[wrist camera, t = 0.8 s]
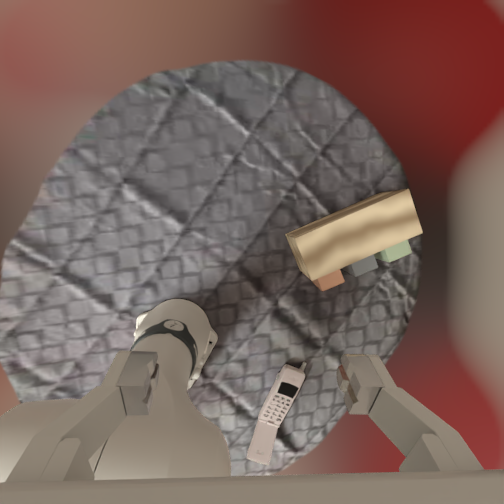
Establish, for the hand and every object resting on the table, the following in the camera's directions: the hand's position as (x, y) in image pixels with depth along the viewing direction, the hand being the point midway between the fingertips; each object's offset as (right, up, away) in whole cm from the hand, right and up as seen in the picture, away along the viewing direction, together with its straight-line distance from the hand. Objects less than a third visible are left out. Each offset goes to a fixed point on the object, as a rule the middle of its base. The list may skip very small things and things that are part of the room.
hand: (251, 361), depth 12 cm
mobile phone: (+6, -32, +54) cm, 63 cm away
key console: (+20, +9, +48) cm, 53 cm away
